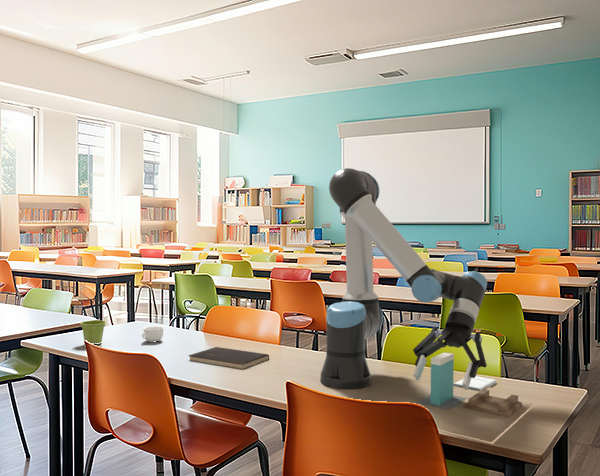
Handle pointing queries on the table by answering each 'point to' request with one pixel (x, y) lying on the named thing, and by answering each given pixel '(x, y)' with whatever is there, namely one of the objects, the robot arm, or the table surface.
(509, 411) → the rack
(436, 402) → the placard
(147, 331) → the teacup
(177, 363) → the table surface
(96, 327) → the plant pot
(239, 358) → the hardcover book
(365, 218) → the robot arm
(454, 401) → the mat
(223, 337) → the table surface
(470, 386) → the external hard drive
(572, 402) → the table surface
